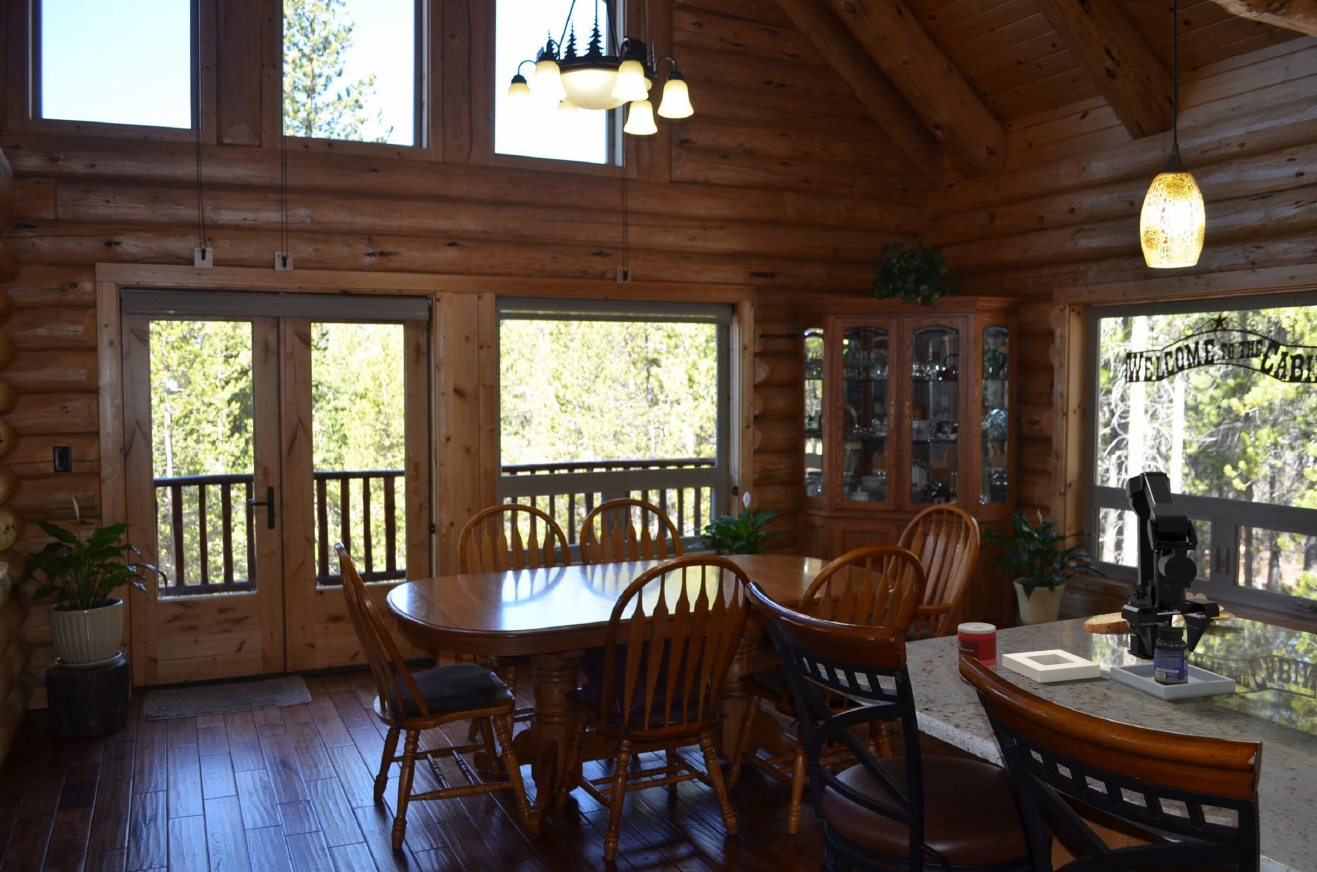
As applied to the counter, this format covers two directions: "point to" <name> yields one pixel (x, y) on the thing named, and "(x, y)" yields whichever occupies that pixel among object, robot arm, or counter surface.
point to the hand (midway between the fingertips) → (1170, 653)
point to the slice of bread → (1106, 624)
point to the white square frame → (1051, 665)
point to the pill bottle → (1171, 657)
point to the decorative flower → (1223, 616)
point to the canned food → (978, 643)
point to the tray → (1197, 685)
